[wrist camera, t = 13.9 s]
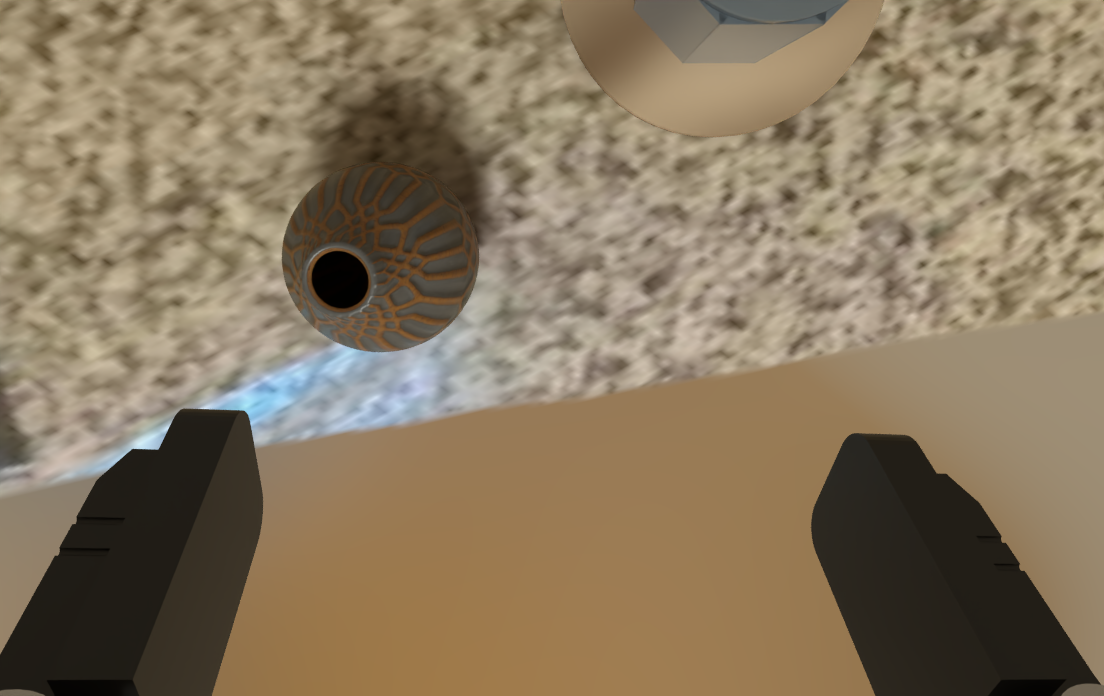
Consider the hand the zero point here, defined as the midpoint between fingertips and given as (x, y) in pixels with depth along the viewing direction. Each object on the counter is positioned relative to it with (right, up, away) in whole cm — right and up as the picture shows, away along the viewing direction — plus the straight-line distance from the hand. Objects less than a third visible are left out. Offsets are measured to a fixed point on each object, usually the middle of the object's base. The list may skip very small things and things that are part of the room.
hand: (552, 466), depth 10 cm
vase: (-6, +6, +22) cm, 23 cm away
